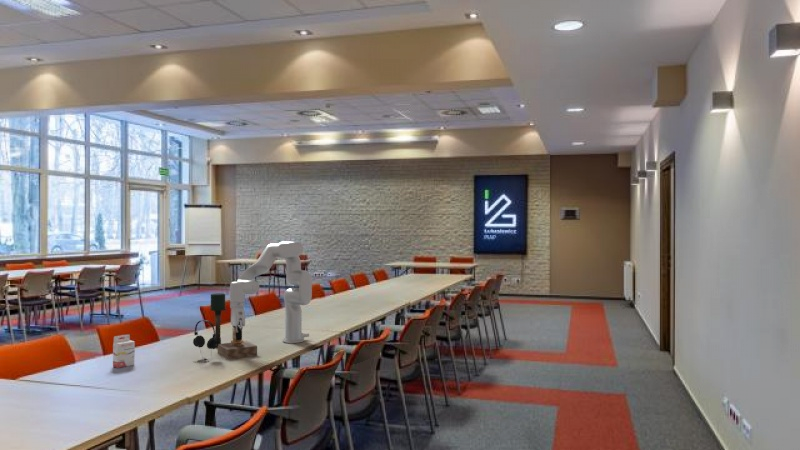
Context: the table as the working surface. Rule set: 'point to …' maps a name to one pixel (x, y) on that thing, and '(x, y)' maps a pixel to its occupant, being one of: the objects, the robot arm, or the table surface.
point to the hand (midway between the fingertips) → (237, 338)
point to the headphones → (200, 340)
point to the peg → (234, 341)
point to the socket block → (237, 350)
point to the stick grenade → (218, 311)
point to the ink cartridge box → (123, 351)
